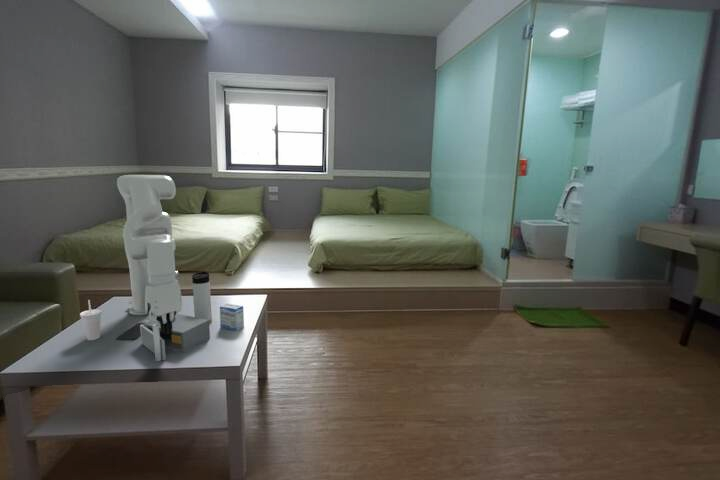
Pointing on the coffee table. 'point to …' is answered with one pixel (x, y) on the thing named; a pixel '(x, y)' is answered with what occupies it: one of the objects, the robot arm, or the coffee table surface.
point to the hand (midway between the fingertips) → (166, 332)
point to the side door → (153, 341)
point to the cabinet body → (184, 332)
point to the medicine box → (231, 317)
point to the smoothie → (91, 322)
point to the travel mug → (202, 295)
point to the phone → (131, 333)
